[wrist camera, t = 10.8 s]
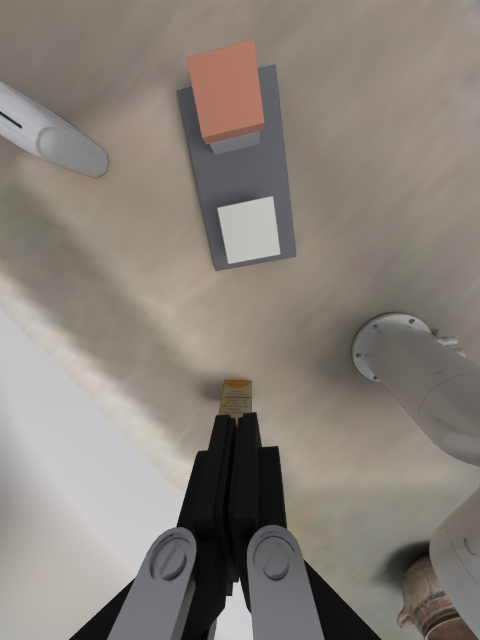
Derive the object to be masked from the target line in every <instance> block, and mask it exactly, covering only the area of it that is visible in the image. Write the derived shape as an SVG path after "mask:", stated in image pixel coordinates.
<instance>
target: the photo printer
mask: <svg viewBox="0 0 480 640" xmlns="http://www.w3.org/2000/svg"><path fill="white" fill-rule="evenodd" d="M0 135H2V136H3V137H5V138H6V139H8V140H10V141H11V142H13V143H14V144H16V145H17V146H19V147H21V148H22V149H24V150H26V151H27V152H29V153H31V154H33V155H35V156H37V157H39V158H41V159H44V160H46V161H49V162H52V163H55V164H58V165H60V166H63V167H66V168H69V169H71V170H74V171H77V172H80V173H83V174H86V175H88V176H91V177H94V178H98V176H101V175H103V174H104V173H105V172H106V170H107V167H108V159H107V154H106V153H105V152H104V151H103V150H102V149H101V148H100V147H99V146H98V145H97V144H95V143H94V142H93V141H92V140H90V139H89V138H88V137H86V136H85V135H84V134H82V133H81V132H80V131H78V130H77V129H76V128H74V127H73V126H71V125H70V124H69V123H67V122H66V121H65V120H63V119H62V118H60V117H59V116H57V115H56V114H54V113H53V112H52V111H50V110H48V109H47V108H45V107H43V106H41V105H40V104H38V103H37V102H35V101H33V100H32V99H30V98H28V97H27V96H25V95H23V94H22V93H20V92H18V91H17V90H15V89H13V88H12V87H10V86H8V85H7V84H5V83H3V82H2V81H0Z"/></svg>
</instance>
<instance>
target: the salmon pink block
mask: <svg viewBox="0 0 480 640" xmlns="http://www.w3.org/2000/svg"><path fill="white" fill-rule="evenodd" d="M187 63H188V68H189V73H190V78H191V83H192V88H193V93H194V98H195V103H196V108H197V113H198V118H199V123H200V128H201V133H202V138H203V140H204V142H205V144H210V143H214V142H218V141H222V140H226V139H230V138H234V137H239V136H243V135H247V134H251V133H255V132H259V131H263V130H264V116H263V108H262V100H261V92H260V84H259V76H258V69H257V61H256V53H255V45H254V39H253V40H250V41H246V42H243V43H239V44H235V45H232V46H228V47H225V48H221V49H218V50H214V51H211V52H207V53H204V54H200V55H196V56H193V57H189V58H187Z"/></svg>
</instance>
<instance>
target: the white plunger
mask: <svg viewBox="0 0 480 640" xmlns="http://www.w3.org/2000/svg"><path fill="white" fill-rule="evenodd" d="M217 209H218V214H219V219H220V224H221V229H222V234H223V239H224V244H225V249H226V254H227V259H228V264H231V263H236V262H242V261H247V260H253V259H258V258H263V257H269V256H274V255H279V254H280V247H279V239H278V231H277V223H276V216H275V208H274V200H273V196H271V197H267V198H262V199H257V200H252V201H248V202H243V203H238V204H234V205H229V206H224V207H219V208H217Z"/></svg>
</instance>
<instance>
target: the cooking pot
mask: <svg viewBox="0 0 480 640" xmlns="http://www.w3.org/2000/svg"><path fill="white" fill-rule="evenodd" d="M402 595H403V601H404V607H403V609H402V611H401V612H400V613H399V615H398V618H397V624H398V626H399V627H400V628H402V629H403V628H405V627H407V626H408V625H410V624H415V625H416V627H417V629H418V630H419V631H420V633H421V634H422V635H423V637H424V638H425V639H424V640H479V639H478V638H477V637H476V635H475V634H474V633H473V632H472V630H471V629H470V628H469V627H468V625H467V624H466V623H465V621H464V620H463V619H462V617H461V616H460V615H459V613H458V612H457V610H456V609H455V608H454V606H453V605H452V603H451V602H450V600H449V598H448V597H447V595H446V594H445V592H444V590H443V588H442V587H441V585H440V583H439V581H438V579H437V577H436V574H435V572H434V569H433V566H432V563H431V559H430V553H429V554H424V555H421V556H420V557H418V558H417V559H416V561H415V562H414V563H413V564H412V565H411V567H410V568H409V569H408V570H407V572H406V574H405V576H404V578H403V582H402ZM406 616H407V617H406ZM405 617H406V618H405ZM404 618H405V619H404ZM403 619H404V620H403Z"/></svg>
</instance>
